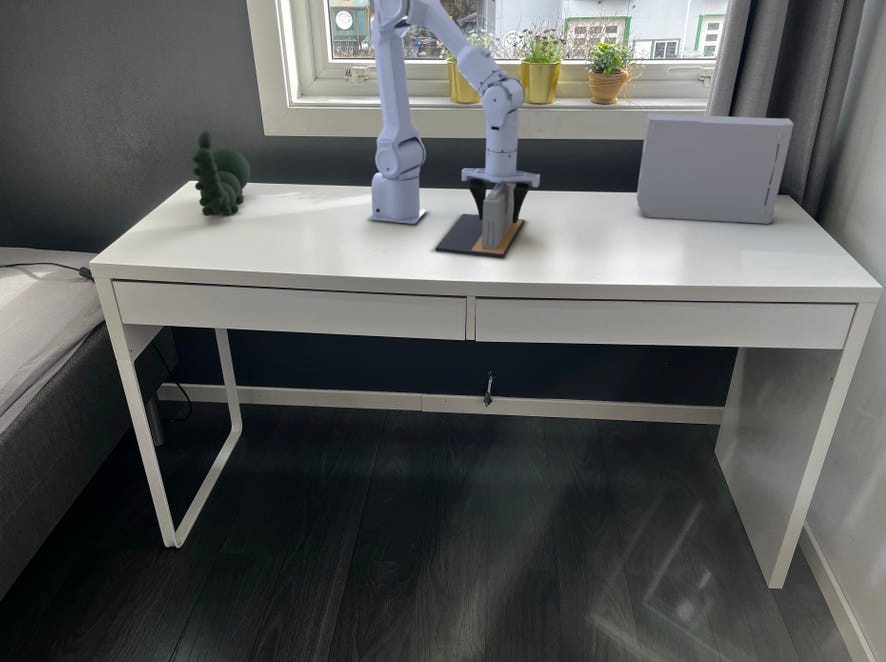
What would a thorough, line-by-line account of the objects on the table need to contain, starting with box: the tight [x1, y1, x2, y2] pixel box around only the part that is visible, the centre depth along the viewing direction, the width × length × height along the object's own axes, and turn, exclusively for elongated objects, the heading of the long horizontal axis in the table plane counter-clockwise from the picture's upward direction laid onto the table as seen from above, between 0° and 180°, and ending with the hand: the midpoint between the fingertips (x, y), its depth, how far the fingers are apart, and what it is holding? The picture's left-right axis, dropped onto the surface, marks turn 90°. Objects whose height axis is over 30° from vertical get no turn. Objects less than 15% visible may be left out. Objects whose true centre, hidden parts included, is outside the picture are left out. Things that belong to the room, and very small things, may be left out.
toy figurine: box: [192, 130, 251, 217], centre depth 158 cm, size 9×19×25 cm
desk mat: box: [435, 213, 526, 259], centre depth 148 cm, size 13×20×1 cm, turn 164°
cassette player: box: [482, 183, 516, 250], centre depth 145 cm, size 16×3×10 cm, turn 164°
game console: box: [636, 112, 794, 225], centre depth 153 cm, size 6×27×20 cm, turn 81°
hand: (498, 219), depth 146 cm, fingers open, 6 cm apart
